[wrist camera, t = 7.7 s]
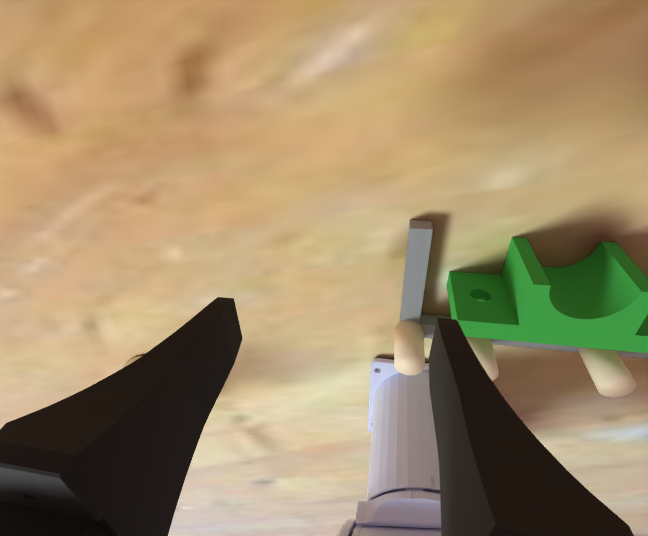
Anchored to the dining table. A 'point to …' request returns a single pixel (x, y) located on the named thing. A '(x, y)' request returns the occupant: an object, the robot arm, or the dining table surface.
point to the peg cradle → (416, 326)
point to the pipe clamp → (556, 301)
